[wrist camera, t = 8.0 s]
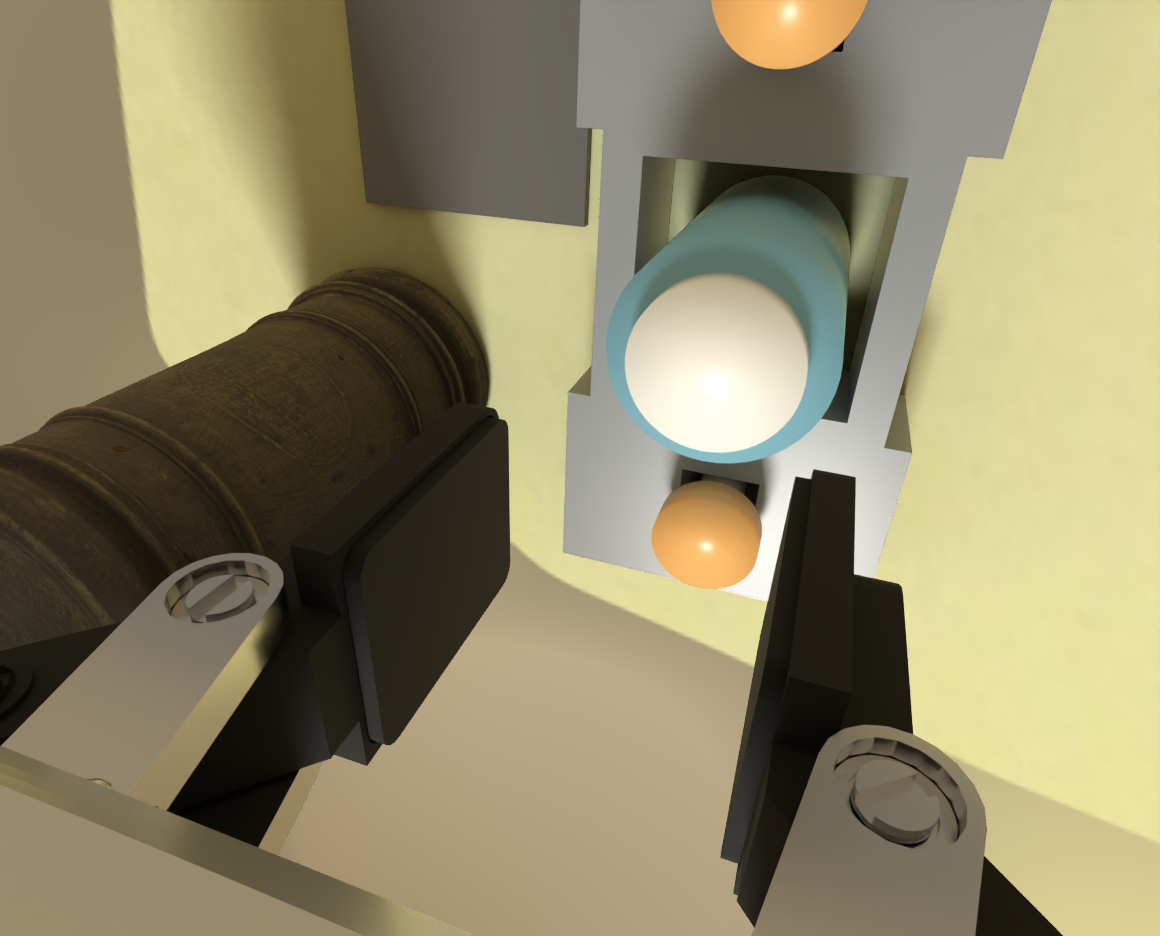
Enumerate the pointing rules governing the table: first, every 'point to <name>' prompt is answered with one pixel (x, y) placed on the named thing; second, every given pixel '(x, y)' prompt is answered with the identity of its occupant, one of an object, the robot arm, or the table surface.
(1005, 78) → the housing
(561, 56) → the mat
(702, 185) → the table surface
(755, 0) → the plunger
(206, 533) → the container
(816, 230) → the cartridge
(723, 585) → the orange mushroom peg
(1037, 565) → the table surface
